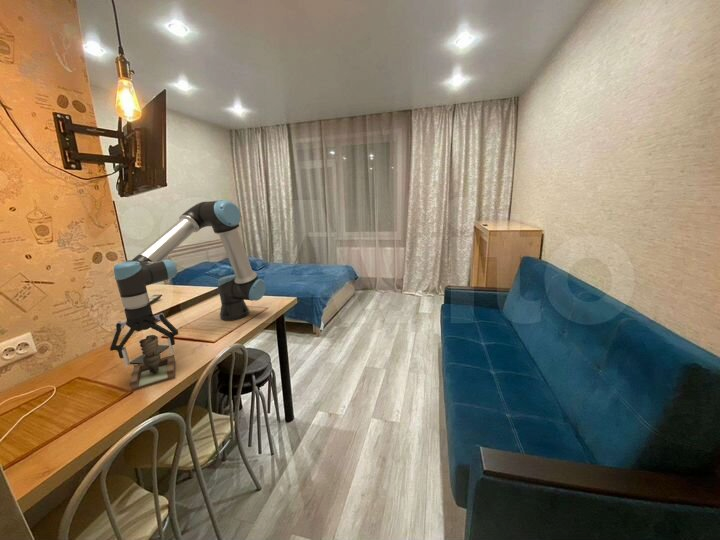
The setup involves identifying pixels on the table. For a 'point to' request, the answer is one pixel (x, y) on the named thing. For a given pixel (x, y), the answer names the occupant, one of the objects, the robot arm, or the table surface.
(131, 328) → the robot arm
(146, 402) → the table surface
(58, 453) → the table surface
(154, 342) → the stone figurine
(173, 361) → the brown picture frame
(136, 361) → the smartphone
